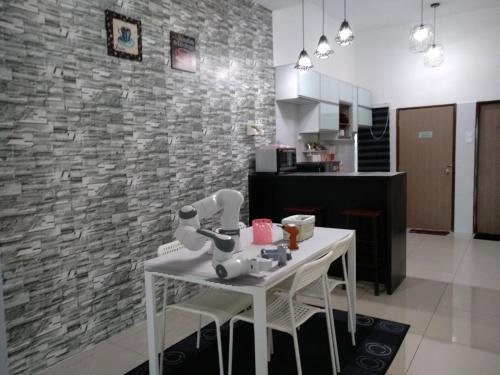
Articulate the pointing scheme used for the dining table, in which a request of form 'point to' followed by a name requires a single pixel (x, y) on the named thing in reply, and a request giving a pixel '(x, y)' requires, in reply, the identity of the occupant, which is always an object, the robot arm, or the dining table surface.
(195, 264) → the dining table surface
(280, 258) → the motor
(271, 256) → the chassis
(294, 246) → the toy drill
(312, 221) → the storage basket
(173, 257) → the dining table surface
